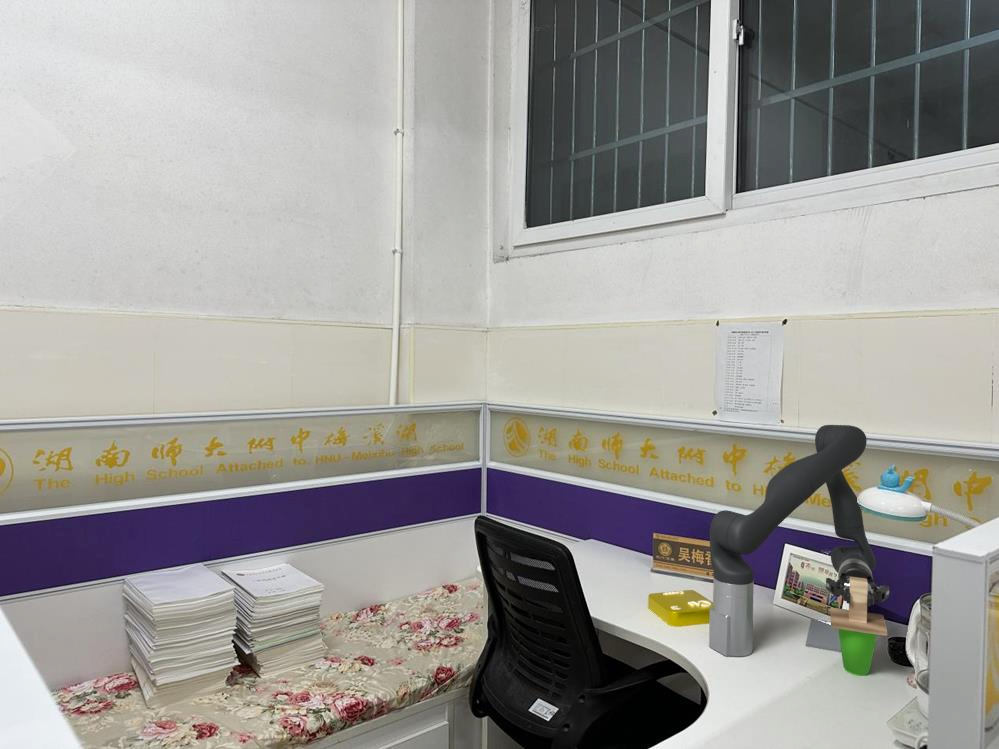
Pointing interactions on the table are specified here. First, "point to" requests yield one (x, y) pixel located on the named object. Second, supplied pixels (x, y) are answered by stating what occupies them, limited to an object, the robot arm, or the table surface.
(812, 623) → the mat
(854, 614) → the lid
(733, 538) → the robot arm
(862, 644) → the cup
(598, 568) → the table surface
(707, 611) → the element tile
